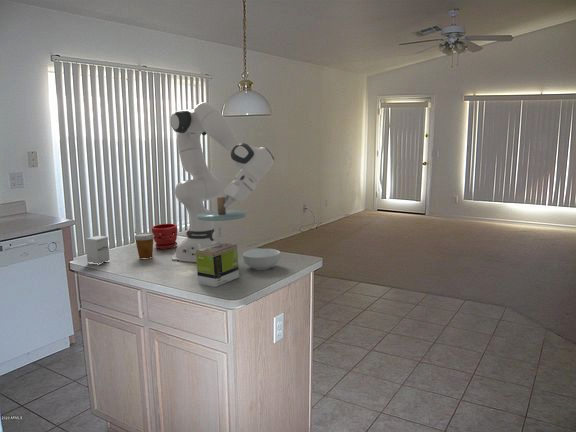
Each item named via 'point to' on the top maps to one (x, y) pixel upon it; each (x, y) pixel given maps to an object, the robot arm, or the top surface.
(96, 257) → the supplement box
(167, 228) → the plant pot
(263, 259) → the cereal bowl
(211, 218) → the cover
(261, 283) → the top surface
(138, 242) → the glass of beer
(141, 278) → the top surface
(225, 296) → the top surface
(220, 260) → the tea box
